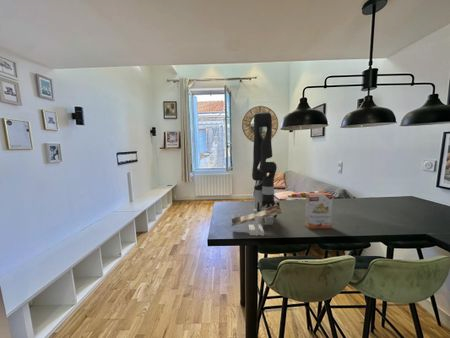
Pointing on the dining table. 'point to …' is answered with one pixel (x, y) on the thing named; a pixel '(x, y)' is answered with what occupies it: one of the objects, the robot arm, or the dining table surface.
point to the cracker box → (318, 210)
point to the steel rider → (268, 220)
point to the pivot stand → (256, 226)
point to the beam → (263, 214)
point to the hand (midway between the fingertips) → (268, 217)
